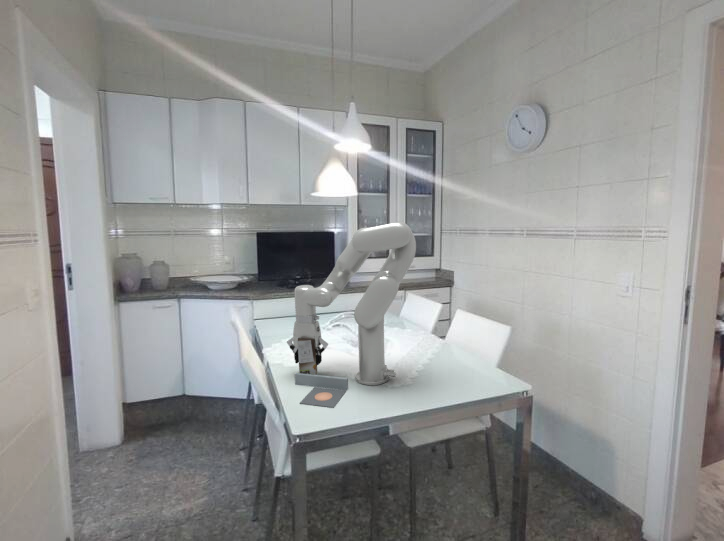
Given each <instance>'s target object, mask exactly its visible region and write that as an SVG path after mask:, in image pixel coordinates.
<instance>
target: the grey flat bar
mask: <svg viewBox="0 0 724 541" xmlns="http://www.w3.org/2000/svg"><path fill="white" fill-rule="evenodd" d="M348 379H349V378H348V377H341V376H340V377H339V376H330V375H321V374H317V375H312V374H303V373H299V372H295V373H294V384H295V386H296V385H297V386H303V387H304V386H306V387H313V388H314V387H318V388H327V389H336V390H345V391H348V389H349V380H348Z"/></svg>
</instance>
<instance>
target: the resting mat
mask: <svg viewBox="0 0 724 541" xmlns="http://www.w3.org/2000/svg"><path fill="white" fill-rule="evenodd" d="M346 393H347V390H339V389H331V388H322V387H313V388H312V389H311V390H310V391H309V392H308V393H307V395H305V397H303V399H302V400H301V401H300V402H299V404H300V405H305V406H306V405H307V406H313V407H323V408H329V409H335V407H336V406H337V404H338V403H339V402H340V400H341V399H342V398H343V397H344V396H345V394H346Z"/></svg>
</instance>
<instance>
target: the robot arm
mask: <svg viewBox="0 0 724 541" xmlns="http://www.w3.org/2000/svg"><path fill="white" fill-rule="evenodd" d="M388 250H391V251H390V252H389V255H388V256H387V258H386V259H385V262H384V263H383V265H382V266H381V267H380V269H379V271H378V272H377V274H376V275H374V277H373V279H372V280H371V282H370V284H369V285H368V287H367V288H366V291H365V292H364V294H363V296H362V297H361V298H360V300H359V301H358V303H357V304H356V307H355V309H354V312H353V316H354V321H355V323H356V324H357V331H358V333H357V334H358V336H357V338H358V340H357V341H358V365H359V368H358V369H359V370H358V372H357V373H355V375H354V376H355V378H354V379H355V380H356V382H358V383H359V384H360V385H366V386H378V385H382V384H384V383H387V382H388V381H389V380H390V377H391V378H397V372H396V371H395V369H388V365H387V364H386V362H385V360H386V358H385V315H386V313H387V311H388V310H389V309H390V306H391V305H392V303H393V302H394V300H395V299H396V297H397V295H398V292H399V288H400V285H401V282H402V281H403V280H404V277H405V276H406V274H407V272H408V270H409V269H410V268H411V266H412V263H413V261H414V259H415V256H416V253H417V252H416V251H417V242H416V238H415V235H414V233H413V231H412V229H411V227H410V226H409V224H407V223H406V222H403V221H395V222H392V223H387V224H381V225H376V226H371V227H361V228H358V229H357V230H356V231H355V232H354V233H353V235H352V238H351V240H350V241H349V243H348V244H347V246H346V247H345V248H344V249H343V251H342V252H341V254H340V255H339V256H338V257H337V259H336V262H335V265H334V267H333V269H332V270H331V272H330V274H329V275H328V276H327V278H326V279H325V280H324V281H323V283H322V284H321V285H320V286H317V287H314V286H313V285H310V284H302V285H298V286H296V287H295V288H294V307H295V308H294V310H295V311H294V312H295V321H294V324H293V335H292V337H291V338H290V339H288V340H287V341H286V343H287V345H288V346H289V349H290V350H291V352H292V353H293V356H294V362H295V364H299V357H298V341H297V340H298V338H307V339H315V352H316V354H317V355H316V365H317V366H319V365H320V364H321V363H322V359H323V358H322V354H323V352H324V351H325V350H326V349H327V347H328V346H329V343H328V342H327V341H326V340H324V339H323V338H322V332H321V331H322V330H321V326H320V322H319V320H320V316H319V315H318V314H317V312H316V311H317V310H316V309H317V307H319V308H326V307H330V305H332V304H333V302H335V300H336V299H337V298H338V296H339V295H340V294H341V292H342V291H343V290H344V288H346V286H347V284H348V283H349V282H350V280H351V279H352V278H353V277H354V276H355V275H356V274H357V272H359V270H360V268H361V267H362V266H363V265H364V263H365V262H366V261H367V260H368V258H369V257H370V255H371V254H372V253H379V252H384V251H388ZM321 346H322V347H321Z"/></svg>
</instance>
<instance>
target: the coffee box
mask: <svg viewBox="0 0 724 541" xmlns="http://www.w3.org/2000/svg"><path fill="white" fill-rule="evenodd" d="M297 341H298V357H299V362H298V371H299V372H298V373H303V374H312V375H318V365H316V355H317V354H316V352H315V339H307V338H298V340H297Z"/></svg>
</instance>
